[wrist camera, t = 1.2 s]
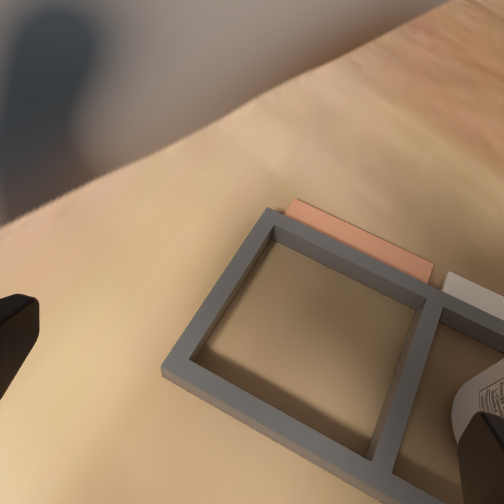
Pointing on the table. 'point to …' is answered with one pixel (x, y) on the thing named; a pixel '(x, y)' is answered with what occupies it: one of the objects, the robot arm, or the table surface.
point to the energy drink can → (479, 397)
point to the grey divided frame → (409, 365)
